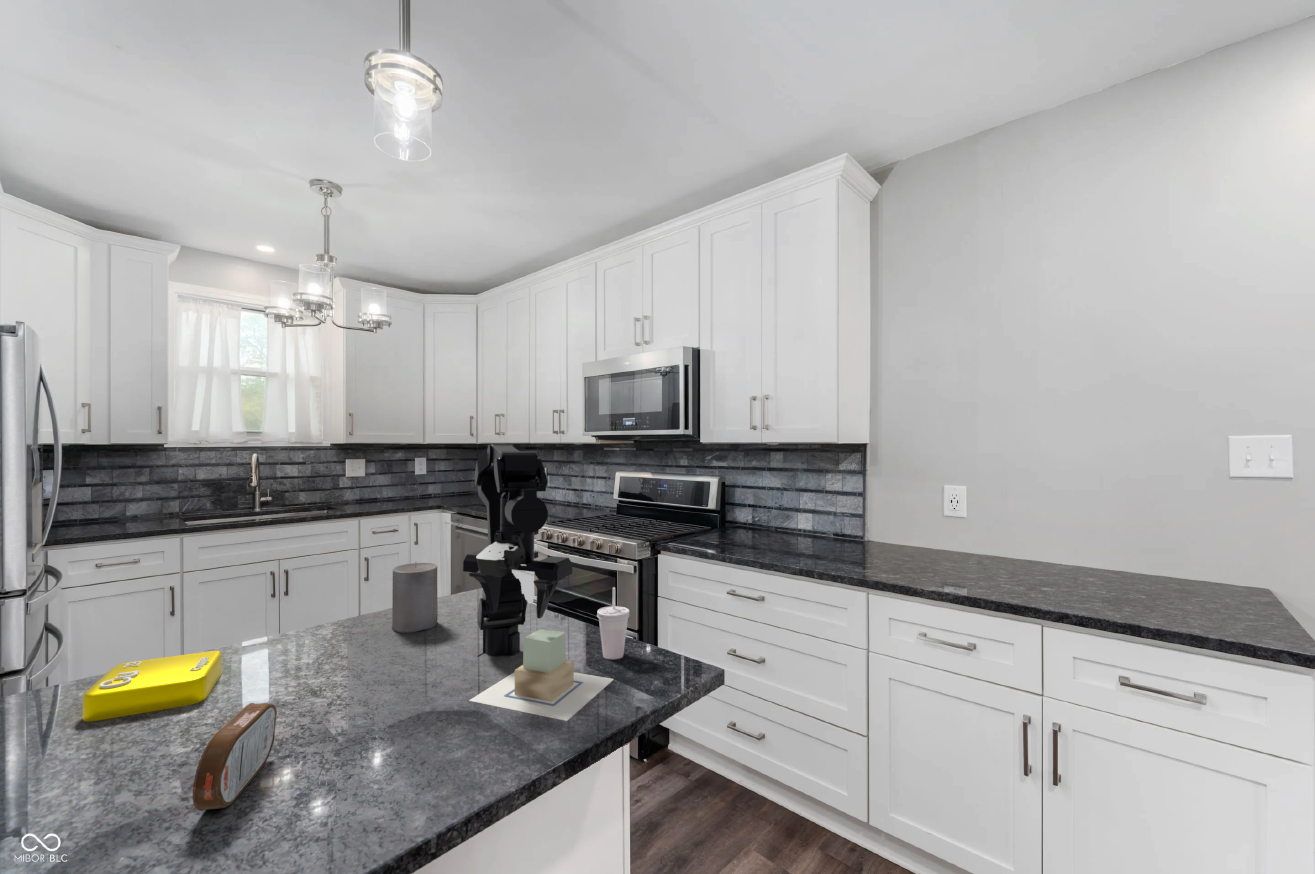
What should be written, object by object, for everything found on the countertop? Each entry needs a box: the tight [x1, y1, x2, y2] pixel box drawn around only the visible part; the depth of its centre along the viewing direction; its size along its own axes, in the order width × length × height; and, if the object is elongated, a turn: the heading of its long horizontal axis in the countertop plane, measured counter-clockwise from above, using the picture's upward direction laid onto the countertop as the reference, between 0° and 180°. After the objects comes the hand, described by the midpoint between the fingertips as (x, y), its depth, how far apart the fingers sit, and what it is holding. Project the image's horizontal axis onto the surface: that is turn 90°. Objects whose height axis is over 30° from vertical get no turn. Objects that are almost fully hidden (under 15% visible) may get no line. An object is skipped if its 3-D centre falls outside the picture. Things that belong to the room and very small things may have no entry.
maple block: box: [514, 658, 575, 702], centre depth 93 cm, size 7×7×4 cm
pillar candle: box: [391, 561, 439, 634], centre depth 129 cm, size 10×10×15 cm
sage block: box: [522, 628, 566, 673], centre depth 93 cm, size 5×5×5 cm
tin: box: [192, 702, 278, 812], centre depth 68 cm, size 15×3×8 cm, turn 13°
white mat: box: [468, 671, 614, 722], centre depth 93 cm, size 18×16×1 cm
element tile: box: [81, 650, 223, 722], centre depth 93 cm, size 15×15×5 cm
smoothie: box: [596, 586, 631, 660], centre depth 109 cm, size 6×6×14 cm
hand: (516, 614), depth 96 cm, fingers open, 9 cm apart
